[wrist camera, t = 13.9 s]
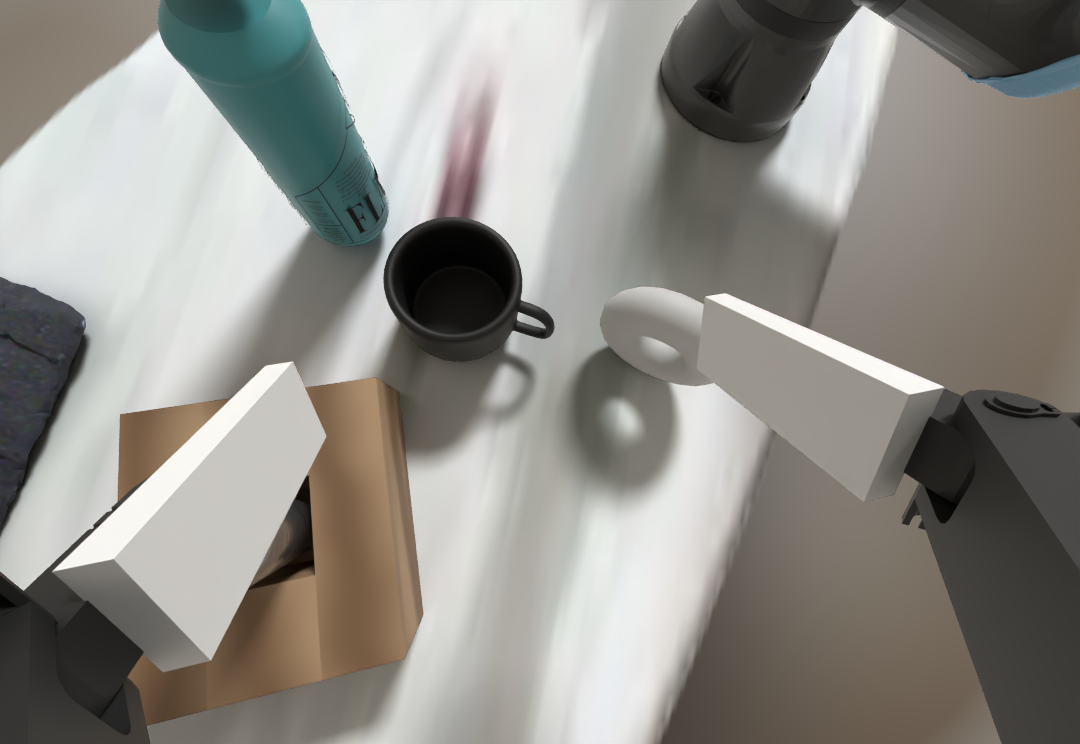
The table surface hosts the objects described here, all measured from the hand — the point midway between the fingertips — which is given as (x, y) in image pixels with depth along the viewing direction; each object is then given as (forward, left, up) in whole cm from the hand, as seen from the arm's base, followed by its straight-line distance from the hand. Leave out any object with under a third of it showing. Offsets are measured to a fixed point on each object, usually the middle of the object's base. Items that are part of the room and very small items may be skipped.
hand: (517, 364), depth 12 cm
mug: (+1, -8, -19) cm, 20 cm away
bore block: (+15, +5, -18) cm, 24 cm away
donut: (-12, -3, -19) cm, 23 cm away
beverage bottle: (+10, -18, -19) cm, 28 cm away
